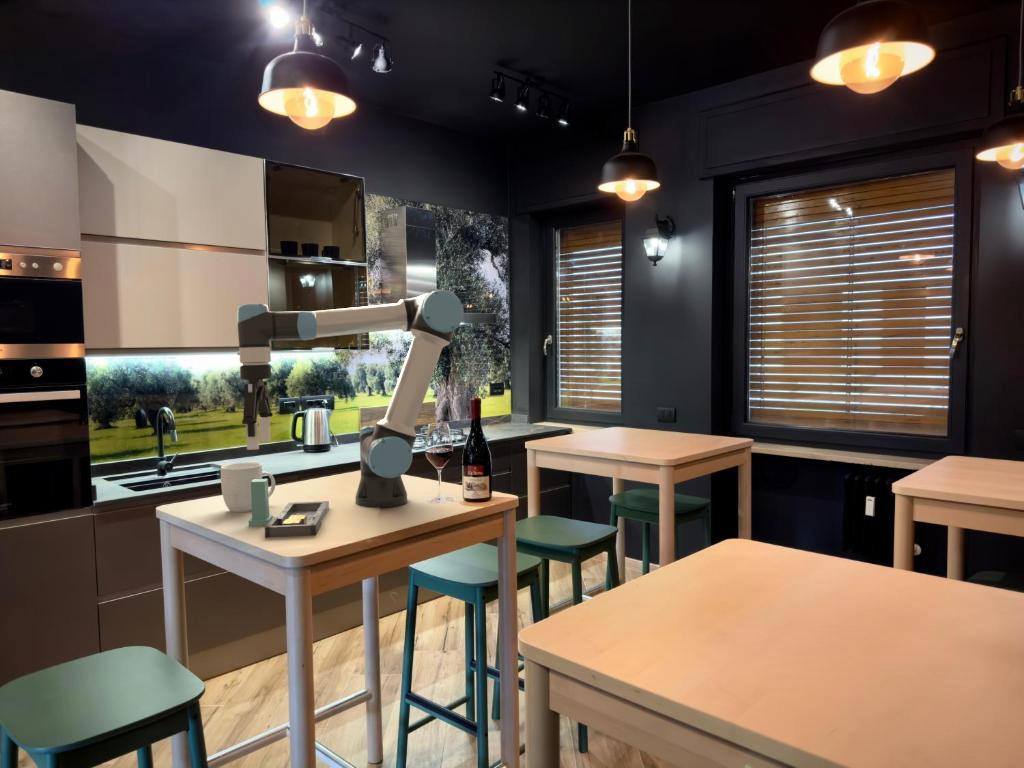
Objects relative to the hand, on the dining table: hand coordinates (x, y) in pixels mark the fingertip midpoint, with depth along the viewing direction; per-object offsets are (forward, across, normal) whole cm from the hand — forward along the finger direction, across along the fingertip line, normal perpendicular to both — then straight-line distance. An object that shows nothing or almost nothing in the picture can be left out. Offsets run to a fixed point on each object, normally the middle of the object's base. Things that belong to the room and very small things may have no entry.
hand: (259, 445), depth 180 cm
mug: (+21, -18, -8) cm, 29 cm away
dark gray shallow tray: (+21, -5, +10) cm, 24 cm away
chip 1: (+21, +9, +9) cm, 24 cm away
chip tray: (+21, +9, +10) cm, 25 cm away
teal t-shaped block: (+21, 0, -1) cm, 21 cm away
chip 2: (+21, +5, +10) cm, 23 cm away
